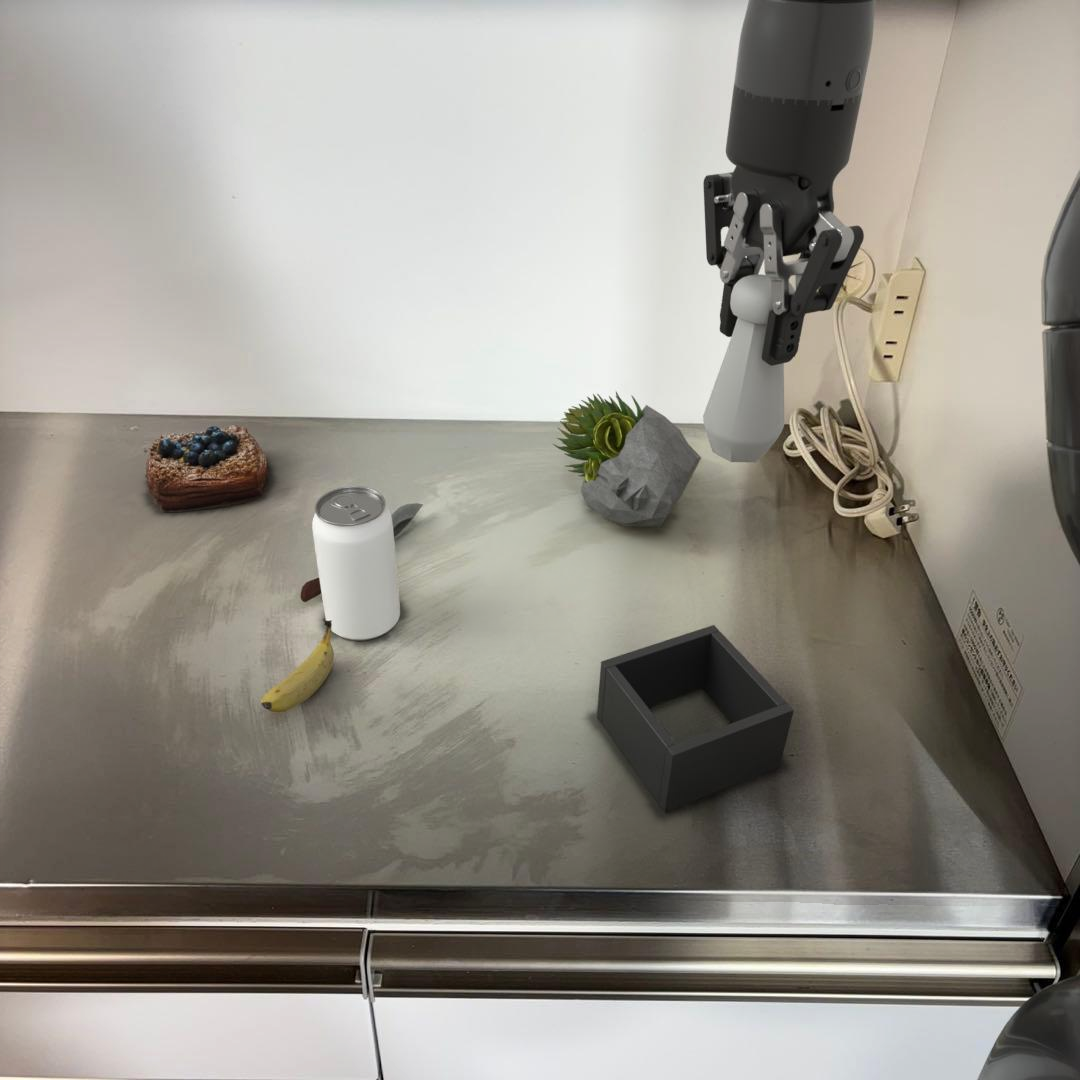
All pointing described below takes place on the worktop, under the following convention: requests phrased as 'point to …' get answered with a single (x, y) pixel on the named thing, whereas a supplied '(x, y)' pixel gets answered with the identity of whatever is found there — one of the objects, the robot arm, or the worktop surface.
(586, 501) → the potted plant
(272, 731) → the worktop surface
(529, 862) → the worktop surface
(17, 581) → the worktop surface
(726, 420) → the salt shaker
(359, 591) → the can
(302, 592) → the knife
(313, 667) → the banana
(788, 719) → the holder
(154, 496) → the pastry
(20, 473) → the worktop surface
